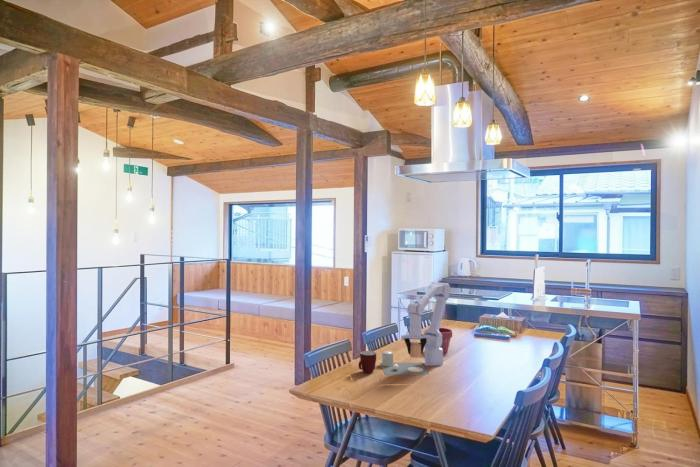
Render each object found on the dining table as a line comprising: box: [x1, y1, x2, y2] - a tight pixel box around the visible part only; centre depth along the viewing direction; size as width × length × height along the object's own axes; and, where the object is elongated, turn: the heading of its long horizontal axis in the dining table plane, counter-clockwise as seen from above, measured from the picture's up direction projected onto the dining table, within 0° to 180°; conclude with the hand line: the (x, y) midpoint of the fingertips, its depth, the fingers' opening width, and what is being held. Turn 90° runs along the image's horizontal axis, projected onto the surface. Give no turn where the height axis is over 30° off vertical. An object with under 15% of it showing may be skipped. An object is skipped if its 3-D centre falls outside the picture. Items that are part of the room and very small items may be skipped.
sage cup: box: [381, 350, 394, 366], centre depth 237 cm, size 6×6×6 cm
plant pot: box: [439, 327, 453, 354], centre depth 266 cm, size 14×14×13 cm
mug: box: [358, 350, 377, 374], centre depth 225 cm, size 11×8×10 cm
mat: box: [379, 361, 430, 376], centre depth 231 cm, size 22×20×1 cm
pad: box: [407, 367, 423, 372], centre depth 229 cm, size 8×8×1 cm
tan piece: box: [408, 341, 422, 359], centre depth 229 cm, size 6×6×6 cm
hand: (415, 353), depth 229 cm, fingers closed on tan piece, 6 cm apart
